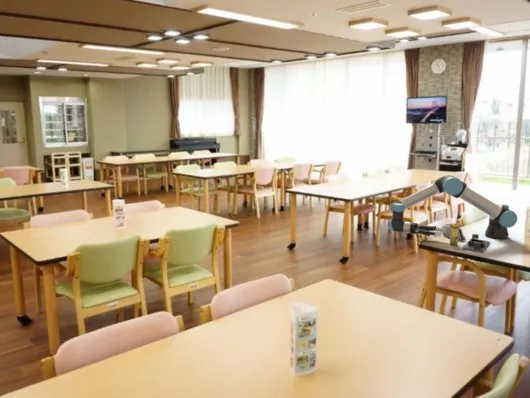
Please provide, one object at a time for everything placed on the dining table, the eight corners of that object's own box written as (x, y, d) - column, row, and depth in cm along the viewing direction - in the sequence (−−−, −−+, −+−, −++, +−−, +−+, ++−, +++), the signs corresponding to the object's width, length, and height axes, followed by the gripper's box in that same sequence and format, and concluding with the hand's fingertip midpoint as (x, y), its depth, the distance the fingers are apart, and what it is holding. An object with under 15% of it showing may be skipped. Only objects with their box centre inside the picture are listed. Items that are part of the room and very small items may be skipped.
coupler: (457, 243, 320) (459, 223, 318) (459, 246, 315) (461, 225, 313) (447, 243, 321) (449, 223, 319) (449, 245, 316) (451, 225, 313)
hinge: (465, 239, 333) (463, 226, 330) (460, 242, 332) (458, 229, 329) (447, 233, 348) (445, 221, 345) (442, 236, 347) (440, 223, 344)
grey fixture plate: (470, 240, 330) (471, 233, 329) (489, 243, 323) (490, 235, 322) (462, 249, 307) (463, 241, 306) (482, 252, 301) (483, 244, 300)
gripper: (416, 229, 343) (447, 234, 331) (405, 236, 322) (437, 241, 311) (416, 219, 341) (448, 223, 330) (405, 225, 321) (438, 230, 309)
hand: (443, 232), depth 320 cm, fingers open, 13 cm apart
